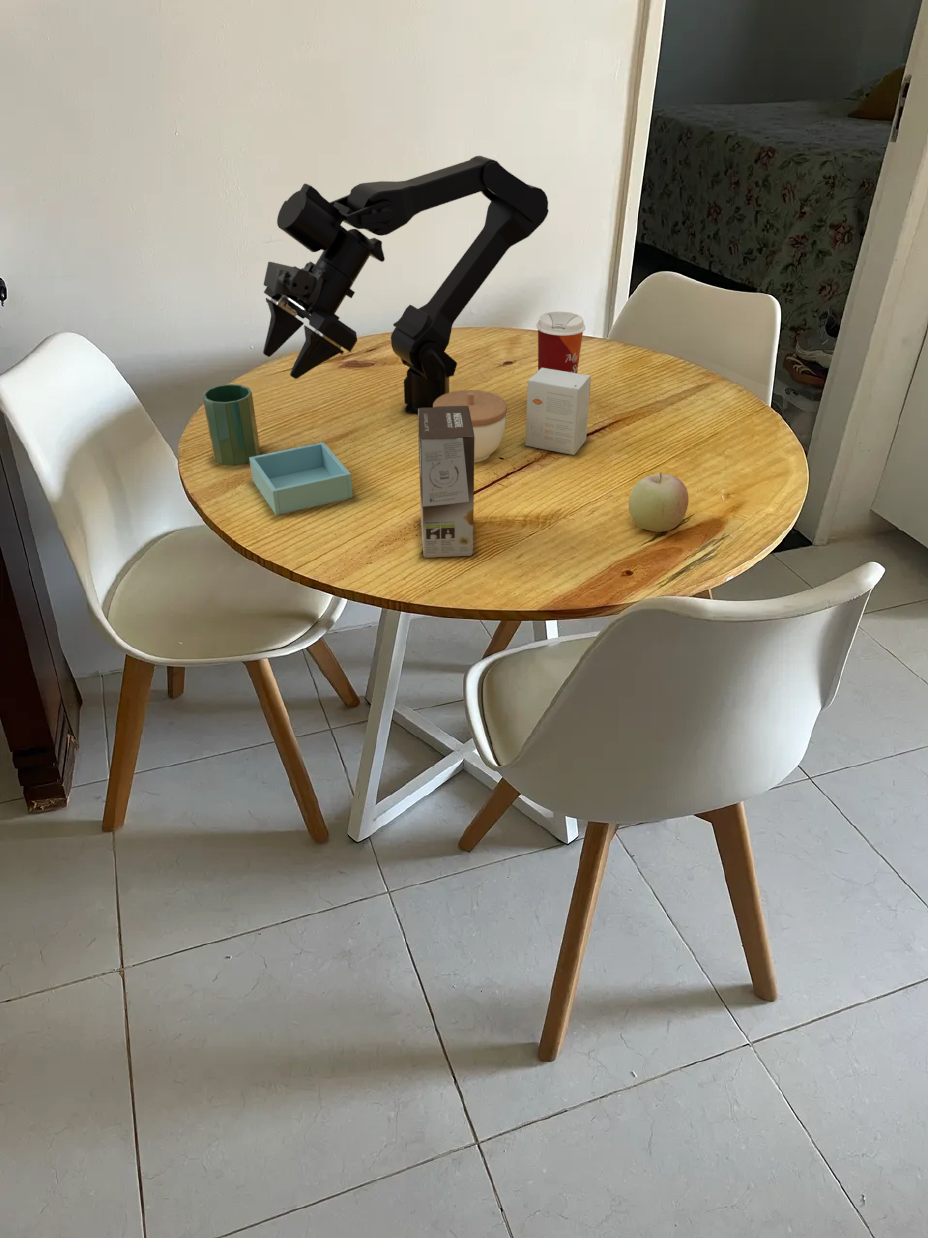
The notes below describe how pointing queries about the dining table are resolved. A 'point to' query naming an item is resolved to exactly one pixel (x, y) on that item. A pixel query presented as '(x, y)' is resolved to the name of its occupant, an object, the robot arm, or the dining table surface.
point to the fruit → (658, 502)
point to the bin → (300, 478)
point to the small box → (557, 410)
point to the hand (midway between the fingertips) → (279, 365)
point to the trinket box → (480, 418)
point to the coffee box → (446, 480)
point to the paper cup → (559, 341)
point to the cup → (231, 424)
